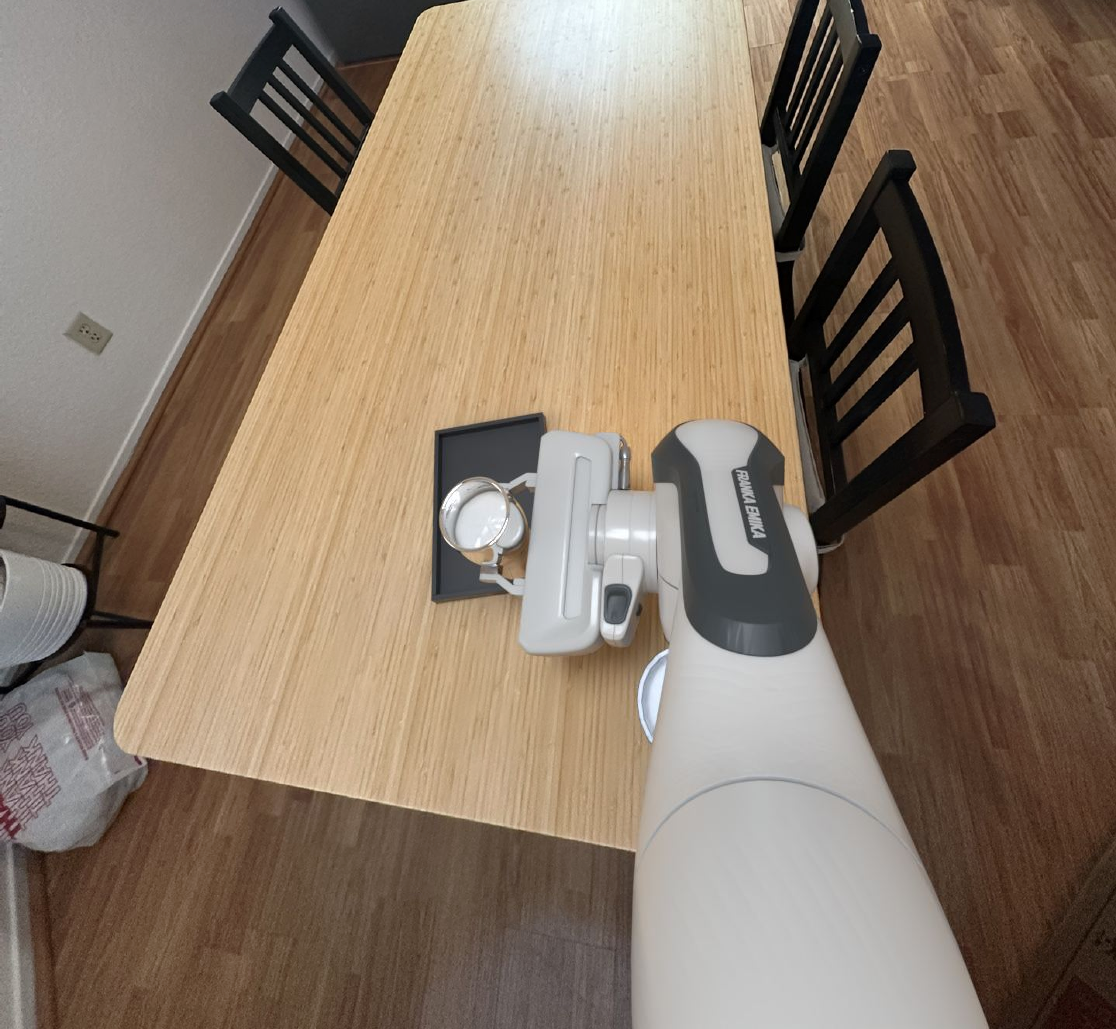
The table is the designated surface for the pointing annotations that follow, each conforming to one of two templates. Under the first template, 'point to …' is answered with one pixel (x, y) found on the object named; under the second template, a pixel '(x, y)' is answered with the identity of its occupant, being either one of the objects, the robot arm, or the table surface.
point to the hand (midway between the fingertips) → (488, 531)
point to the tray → (479, 453)
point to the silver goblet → (486, 526)
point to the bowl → (651, 692)
